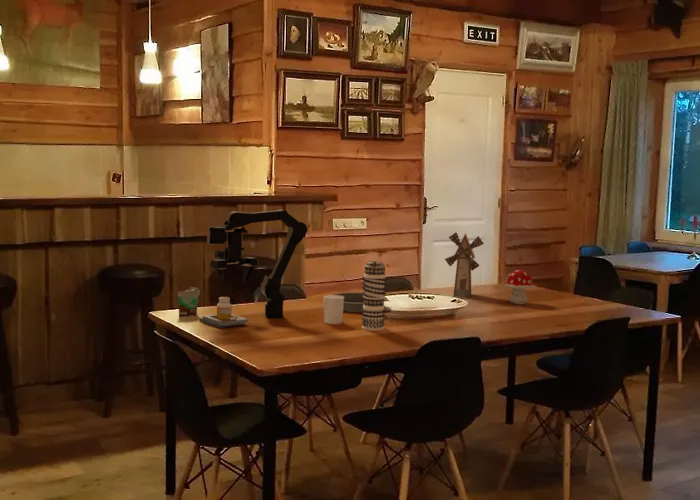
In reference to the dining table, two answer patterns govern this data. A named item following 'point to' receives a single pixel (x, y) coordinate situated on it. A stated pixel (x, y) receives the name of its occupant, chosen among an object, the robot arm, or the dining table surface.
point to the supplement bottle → (224, 308)
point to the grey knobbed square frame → (223, 321)
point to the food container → (188, 301)
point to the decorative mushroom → (518, 286)
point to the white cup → (333, 309)
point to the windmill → (463, 264)
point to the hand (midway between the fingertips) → (234, 284)
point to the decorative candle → (373, 295)
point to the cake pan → (353, 301)
